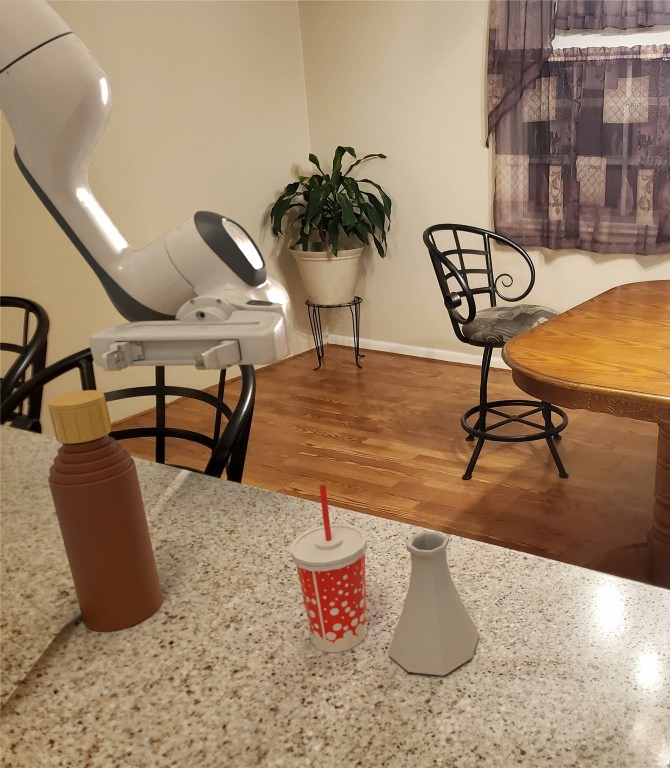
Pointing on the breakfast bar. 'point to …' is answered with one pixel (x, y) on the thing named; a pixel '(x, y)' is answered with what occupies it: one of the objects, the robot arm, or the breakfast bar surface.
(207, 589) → the breakfast bar surface
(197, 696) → the breakfast bar surface
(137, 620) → the bottle
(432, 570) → the flask
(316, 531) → the beverage cup
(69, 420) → the bottle cap
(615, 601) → the breakfast bar surface
